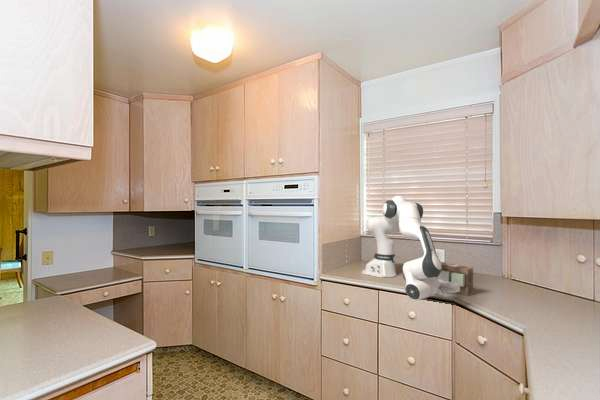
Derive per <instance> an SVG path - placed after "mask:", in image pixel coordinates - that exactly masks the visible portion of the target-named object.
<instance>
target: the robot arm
mask: <svg viewBox="0 0 600 400" xmlns="http://www.w3.org/2000/svg"><path fill="white" fill-rule="evenodd" d="M423 215H424V208H423V206H422V205H421V204H420V203H418V202H413V201H407V199H406V198H405V197H404V196H402V195H394V196H393V197H392V198H391V199H390V200H386V201H385V202H384V204H383V207H382V216H377V215H376V216H372V217H369V218H367V221H366V224H365V225H366V229H367V230H368V231H369V232H370V233H371V234H372V235H373V237H374V238H375V241H376V252H375V253H374V254H373V257H374V258H373V259H371V260H370V261H368V262H367V263H366V265H365V269H363V270H362V271H361V274H363V275H367V276H372V277H377V278H394V277H397V271H396V266H395V265H396V264H395V262H396V254H395V242H394V241H393V239H391V238H389V237H388V236H387V234H393V233H394V234H396V233H400V234H401V235H402V236H403V237H404V238H406V239H409V240H414V241H415V240H419V241H420V244H421V247H422V251H423V256H421V257H418V258H416V259H412V260H409V261H406V262H404V263H403V265H402V267H401V276H402V277H403V280H404V282H405V286H404V290H405V293H406V295H407V296H408V297H409V298H410V299H412V300H416V301H417V300H418V301H420V300H425V299H428V298H431V297H433V296H436V295H438V294H440V293H441V292H444V293H449V294H457V293H456V292H459V291H460V284H458V283H453V282H448V281H447V280H439V279H437V278H435V277H438V276H439V275H440V273H441V270H442V265H441V262H442V261H441V260H440V258H439V256H438V254H437V252H436V248H435V244H434V242H433V239H432V237H431V234H430V232H429V230H428V229H427V227H425V226H424V225H422V224H423V223H422V218H423Z"/></svg>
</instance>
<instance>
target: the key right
mask: <svg viewBox="0 0 600 400" xmlns="http://www.w3.org/2000/svg"><path fill="white" fill-rule="evenodd" d="M451 282H453V283H458V284H460V286H462V287H463V286H466V274H464V273H459V272H453V273H451Z"/></svg>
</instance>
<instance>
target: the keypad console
mask: <svg viewBox="0 0 600 400" xmlns="http://www.w3.org/2000/svg"><path fill="white" fill-rule="evenodd" d="M440 262H441V265H442V269H443V270H448V271H452V273H453V272H459V273H464V274H466V286H463V287H462V286H460V291H459V292H456V293H455V294H457V295H462V296H466V297H469V296H471V295H473V294H474V268H473V267H471V266H464V265H459V264H456V263H455V264H454V263H448V262H445V261H443V262H442V261H440Z"/></svg>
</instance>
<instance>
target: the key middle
mask: <svg viewBox="0 0 600 400" xmlns="http://www.w3.org/2000/svg"><path fill="white" fill-rule="evenodd" d="M451 273H452V271H448V270H443V269H442V270H441V273H440V275H439V276H438V279H439V280H447V281H448V282H451Z"/></svg>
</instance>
